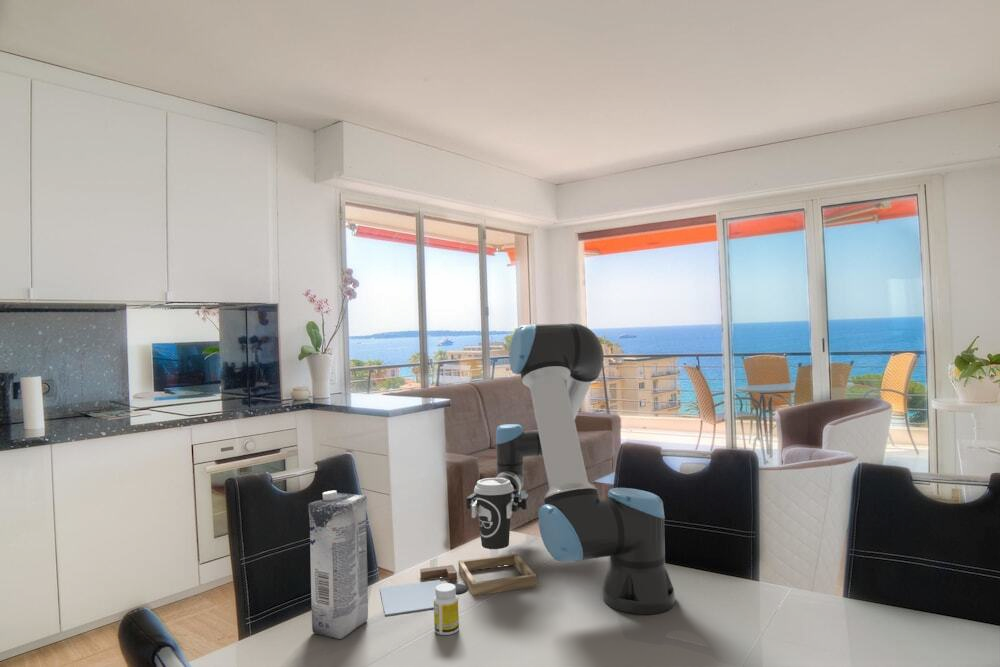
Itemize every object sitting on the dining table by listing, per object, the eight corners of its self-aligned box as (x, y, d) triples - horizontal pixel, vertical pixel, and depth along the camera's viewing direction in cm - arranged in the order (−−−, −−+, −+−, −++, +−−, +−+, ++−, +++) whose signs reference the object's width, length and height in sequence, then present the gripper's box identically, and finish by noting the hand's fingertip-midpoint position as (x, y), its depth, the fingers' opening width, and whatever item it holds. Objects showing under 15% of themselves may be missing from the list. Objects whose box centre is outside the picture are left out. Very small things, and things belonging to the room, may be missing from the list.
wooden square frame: (536, 586, 137) (536, 575, 137) (472, 595, 133) (472, 584, 133) (516, 563, 152) (516, 553, 152) (458, 571, 147) (458, 560, 148)
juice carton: (374, 619, 123) (371, 487, 123) (341, 643, 113) (338, 500, 114) (340, 612, 127) (337, 484, 127) (304, 635, 117) (301, 496, 117)
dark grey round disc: (469, 592, 135) (469, 591, 135) (448, 595, 134) (448, 594, 134) (465, 583, 140) (464, 582, 140) (443, 586, 138) (443, 585, 138)
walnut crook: (457, 580, 142) (456, 572, 142) (423, 585, 139) (423, 576, 139) (453, 573, 146) (453, 564, 146) (420, 577, 144) (420, 568, 144)
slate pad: (451, 606, 128) (451, 604, 128) (385, 615, 124) (385, 614, 124) (439, 581, 142) (439, 579, 142) (379, 589, 138) (379, 587, 138)
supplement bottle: (463, 626, 119) (462, 584, 119) (451, 637, 115) (450, 593, 115) (442, 622, 121) (441, 580, 121) (429, 633, 117) (428, 589, 117)
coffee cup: (515, 551, 138) (513, 485, 138) (473, 552, 138) (472, 486, 138) (515, 537, 147) (513, 476, 148) (476, 538, 147) (474, 477, 148)
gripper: (543, 503, 159) (535, 529, 136) (468, 502, 162) (448, 527, 139) (542, 474, 159) (534, 496, 136) (467, 474, 162) (447, 495, 140)
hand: (490, 512), depth 138 cm, fingers closed on coffee cup, 7 cm apart
